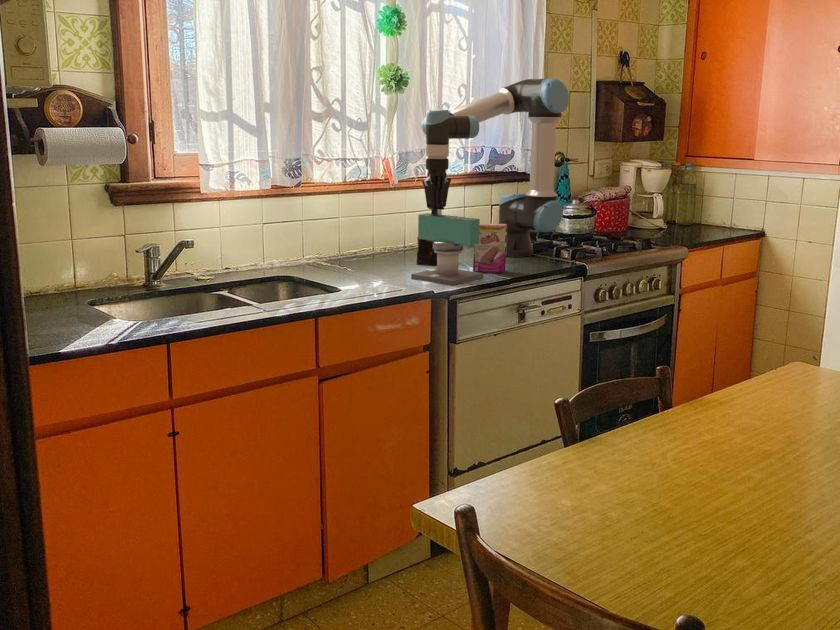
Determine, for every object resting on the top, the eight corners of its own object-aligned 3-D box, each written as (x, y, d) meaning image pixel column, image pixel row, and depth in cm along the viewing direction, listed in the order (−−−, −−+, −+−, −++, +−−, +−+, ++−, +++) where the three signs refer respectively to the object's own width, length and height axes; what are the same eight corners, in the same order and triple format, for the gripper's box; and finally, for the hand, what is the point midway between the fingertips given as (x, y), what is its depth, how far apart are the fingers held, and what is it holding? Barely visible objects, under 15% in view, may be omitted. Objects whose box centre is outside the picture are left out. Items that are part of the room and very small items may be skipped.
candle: (416, 264, 301) (416, 237, 299) (426, 260, 310) (426, 233, 308) (442, 267, 298) (443, 238, 295) (452, 262, 307) (452, 235, 304)
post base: (442, 271, 290) (443, 243, 287) (483, 277, 279) (484, 249, 277) (411, 278, 277) (411, 249, 275) (452, 285, 267) (453, 256, 264)
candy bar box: (472, 272, 288) (474, 224, 284) (473, 270, 292) (474, 222, 288) (505, 273, 286) (507, 225, 283) (505, 270, 291) (507, 223, 287)
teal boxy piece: (431, 243, 286) (432, 212, 283) (483, 250, 273) (484, 218, 271) (413, 247, 278) (413, 215, 276) (465, 254, 266) (465, 221, 263)
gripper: (440, 156, 285) (439, 225, 290) (415, 157, 275) (415, 229, 281) (458, 157, 280) (456, 227, 286) (434, 159, 270) (433, 232, 276)
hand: (436, 228), depth 283 cm, fingers closed
